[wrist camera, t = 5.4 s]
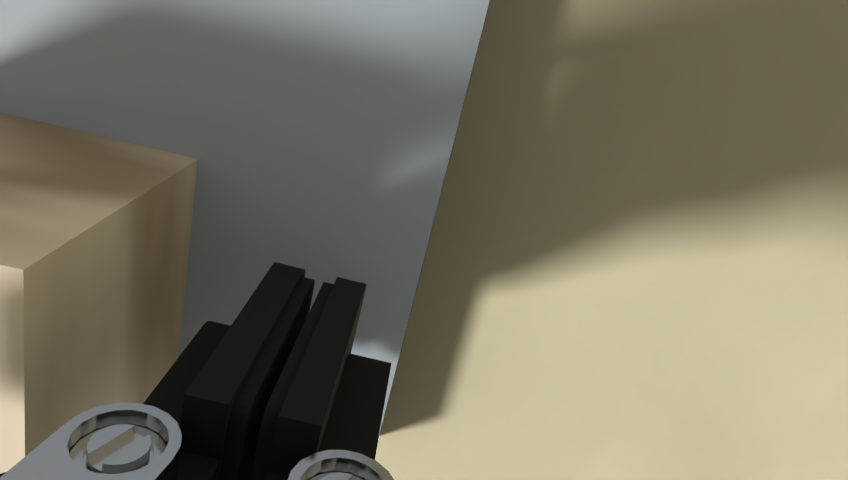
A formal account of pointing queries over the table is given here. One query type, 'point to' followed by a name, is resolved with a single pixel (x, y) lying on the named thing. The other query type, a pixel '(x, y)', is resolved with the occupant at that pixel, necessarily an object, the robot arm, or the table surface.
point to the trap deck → (269, 129)
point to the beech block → (85, 274)
